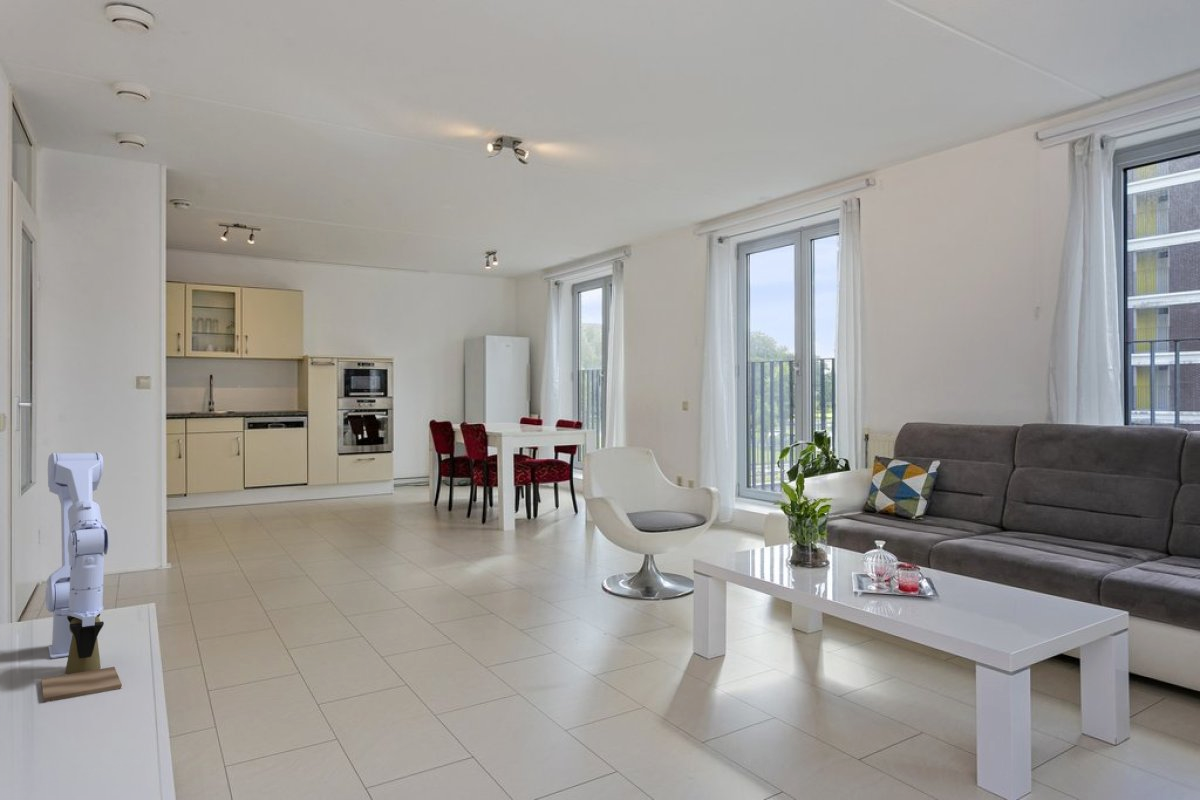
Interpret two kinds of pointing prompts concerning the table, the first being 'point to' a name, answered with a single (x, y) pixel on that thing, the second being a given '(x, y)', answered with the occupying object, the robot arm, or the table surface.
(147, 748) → the table surface
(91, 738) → the table surface
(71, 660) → the cork
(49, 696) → the light brown board
